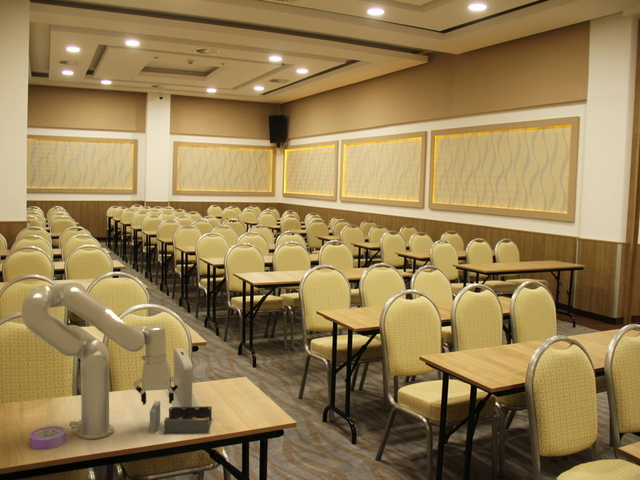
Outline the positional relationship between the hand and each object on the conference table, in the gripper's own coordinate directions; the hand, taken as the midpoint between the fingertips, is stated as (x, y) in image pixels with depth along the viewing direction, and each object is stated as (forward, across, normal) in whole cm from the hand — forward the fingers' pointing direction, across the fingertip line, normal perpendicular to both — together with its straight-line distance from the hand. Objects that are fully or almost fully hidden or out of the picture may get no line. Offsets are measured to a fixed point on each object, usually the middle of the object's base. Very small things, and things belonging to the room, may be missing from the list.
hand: (157, 403), depth 227 cm
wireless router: (+10, +5, +29) cm, 31 cm away
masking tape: (+8, -36, -13) cm, 39 cm away
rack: (+9, +11, 0) cm, 15 cm away
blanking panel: (+9, -1, 0) cm, 9 cm away
